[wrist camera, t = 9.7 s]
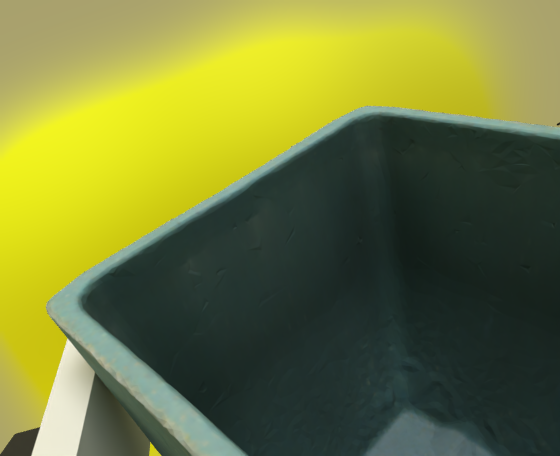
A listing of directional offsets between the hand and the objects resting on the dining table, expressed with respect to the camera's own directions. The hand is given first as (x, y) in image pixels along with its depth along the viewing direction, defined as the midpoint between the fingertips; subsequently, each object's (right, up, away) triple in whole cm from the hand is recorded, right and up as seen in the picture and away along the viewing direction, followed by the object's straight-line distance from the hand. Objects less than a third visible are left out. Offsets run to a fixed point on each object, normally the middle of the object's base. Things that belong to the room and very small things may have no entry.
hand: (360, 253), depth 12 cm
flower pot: (+2, -7, 0) cm, 7 cm away
